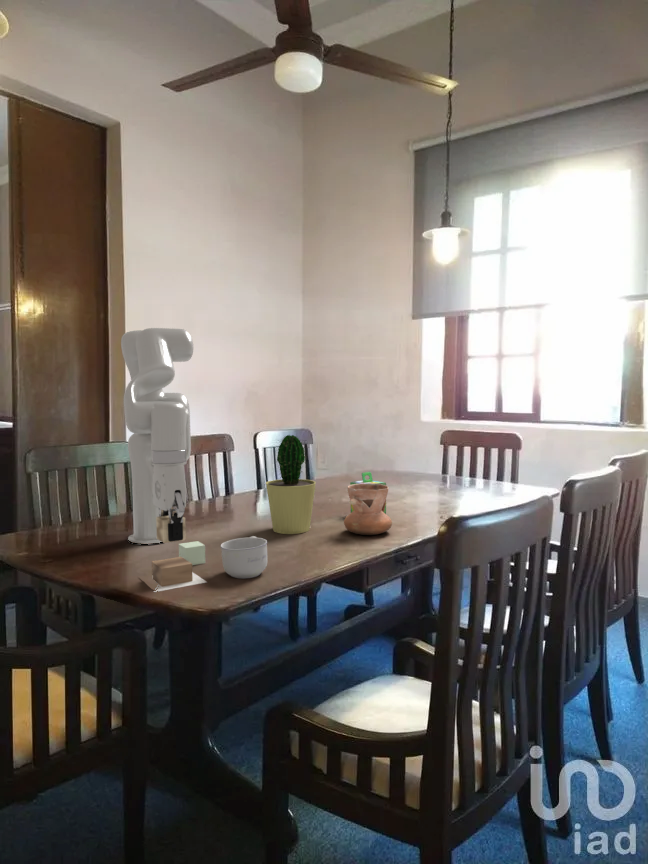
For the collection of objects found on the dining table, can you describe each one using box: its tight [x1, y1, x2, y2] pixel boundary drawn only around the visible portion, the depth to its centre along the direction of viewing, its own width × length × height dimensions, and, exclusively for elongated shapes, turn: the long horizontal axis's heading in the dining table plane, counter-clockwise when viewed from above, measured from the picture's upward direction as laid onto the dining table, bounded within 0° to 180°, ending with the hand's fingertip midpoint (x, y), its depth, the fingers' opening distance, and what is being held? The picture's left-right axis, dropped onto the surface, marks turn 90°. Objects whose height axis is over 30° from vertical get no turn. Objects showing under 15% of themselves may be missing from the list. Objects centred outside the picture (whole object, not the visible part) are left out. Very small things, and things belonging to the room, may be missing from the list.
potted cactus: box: [265, 434, 317, 535], centre depth 189 cm, size 15×15×30 cm
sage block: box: [178, 540, 206, 566], centre depth 153 cm, size 5×5×5 cm
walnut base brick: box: [151, 556, 193, 587], centre depth 139 cm, size 7×7×4 cm
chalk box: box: [349, 471, 387, 515], centre depth 210 cm, size 9×9×15 cm
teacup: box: [220, 535, 268, 579], centre depth 145 cm, size 14×11×8 cm
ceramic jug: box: [343, 483, 393, 536], centre depth 186 cm, size 18×14×14 cm
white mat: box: [153, 571, 207, 593], centre depth 139 cm, size 12×12×1 cm
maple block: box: [156, 516, 187, 544], centre depth 138 cm, size 5×5×5 cm
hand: (171, 537), depth 138 cm, fingers closed on maple block, 5 cm apart
